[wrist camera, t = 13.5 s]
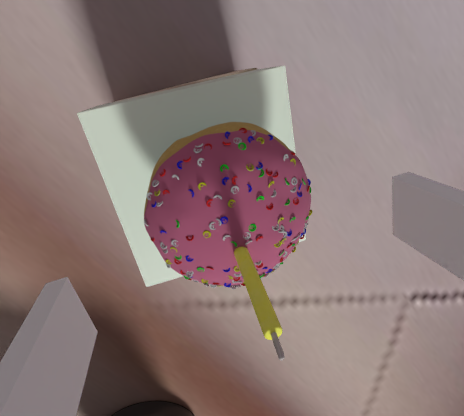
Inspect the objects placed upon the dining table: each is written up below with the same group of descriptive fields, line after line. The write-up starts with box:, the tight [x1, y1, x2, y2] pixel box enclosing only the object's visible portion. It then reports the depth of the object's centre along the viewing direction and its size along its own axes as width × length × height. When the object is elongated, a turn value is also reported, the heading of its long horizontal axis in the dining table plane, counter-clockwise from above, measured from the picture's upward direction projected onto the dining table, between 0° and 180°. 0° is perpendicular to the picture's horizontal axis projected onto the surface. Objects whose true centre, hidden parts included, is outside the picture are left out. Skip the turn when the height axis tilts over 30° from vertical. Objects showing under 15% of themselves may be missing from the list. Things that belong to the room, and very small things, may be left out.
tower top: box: [77, 66, 306, 287], centre depth 23 cm, size 12×12×6 cm
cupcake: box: [144, 122, 312, 360], centre depth 14 cm, size 9×8×12 cm
